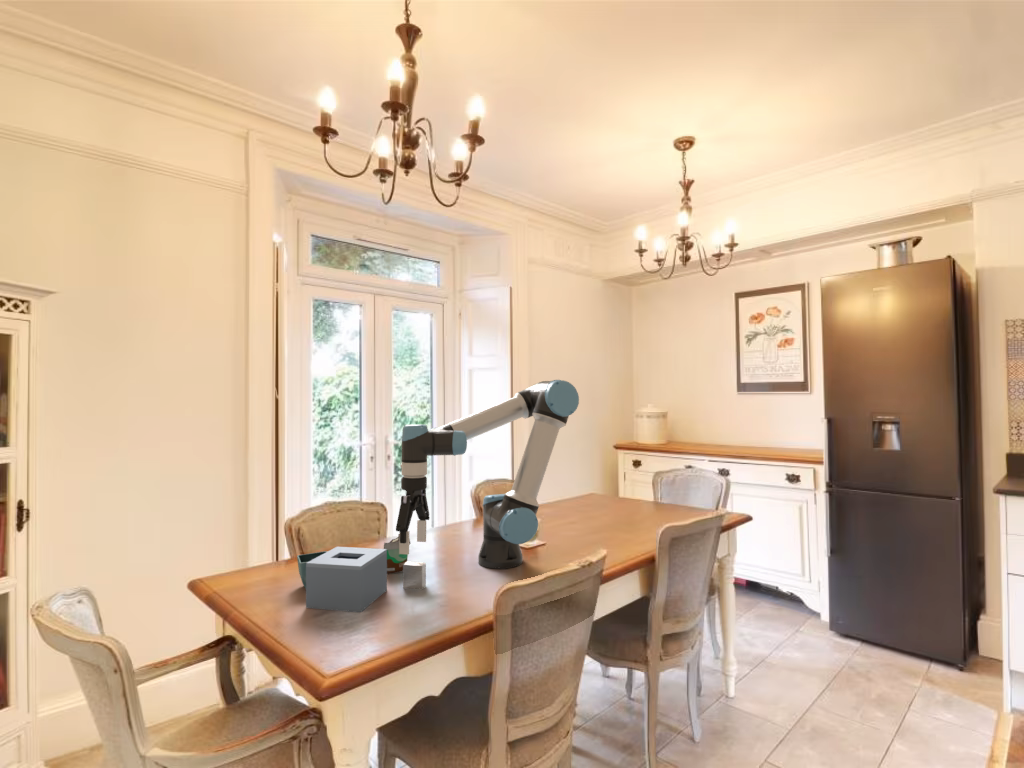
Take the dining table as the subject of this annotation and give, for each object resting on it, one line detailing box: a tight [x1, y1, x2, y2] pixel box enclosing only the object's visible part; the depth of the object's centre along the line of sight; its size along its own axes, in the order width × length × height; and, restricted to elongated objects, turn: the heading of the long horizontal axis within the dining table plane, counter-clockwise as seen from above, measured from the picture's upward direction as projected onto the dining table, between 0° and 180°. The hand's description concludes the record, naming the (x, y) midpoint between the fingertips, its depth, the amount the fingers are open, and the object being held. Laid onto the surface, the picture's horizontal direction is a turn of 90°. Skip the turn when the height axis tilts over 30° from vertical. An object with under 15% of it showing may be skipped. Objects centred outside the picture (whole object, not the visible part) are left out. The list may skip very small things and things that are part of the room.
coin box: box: [305, 546, 388, 613], centre depth 149 cm, size 16×16×12 cm
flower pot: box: [296, 550, 328, 590], centre depth 158 cm, size 9×9×9 cm
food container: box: [383, 533, 411, 574], centre depth 174 cm, size 12×6×10 cm, turn 168°
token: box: [402, 561, 427, 591], centre depth 157 cm, size 6×3×7 cm, turn 79°
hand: (413, 547), depth 157 cm, fingers open, 13 cm apart
